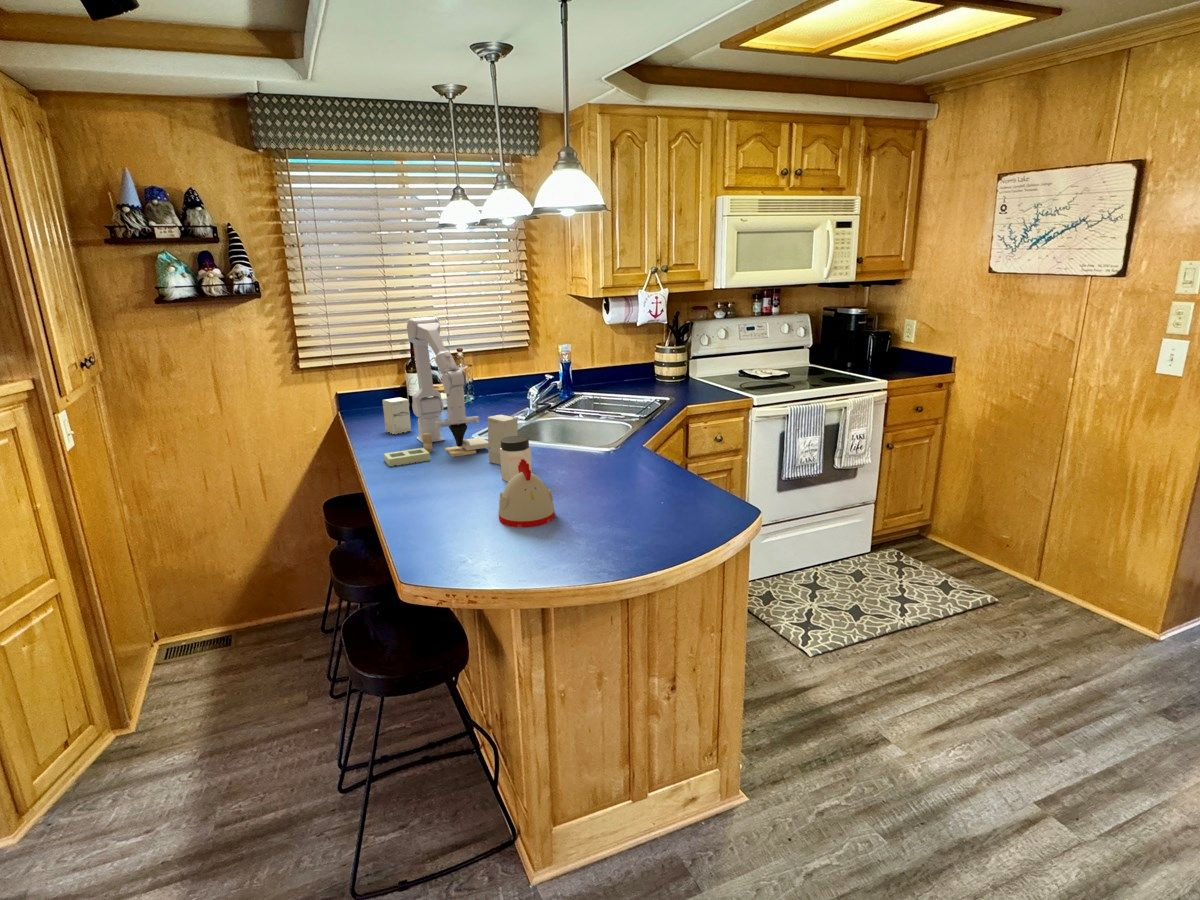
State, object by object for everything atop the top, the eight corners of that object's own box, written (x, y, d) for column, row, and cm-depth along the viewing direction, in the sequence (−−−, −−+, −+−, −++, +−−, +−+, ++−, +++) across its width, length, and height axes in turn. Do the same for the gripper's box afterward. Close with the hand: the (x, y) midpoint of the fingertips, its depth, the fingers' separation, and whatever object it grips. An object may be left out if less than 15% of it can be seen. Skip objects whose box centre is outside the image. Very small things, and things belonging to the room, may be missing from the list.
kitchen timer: (507, 531, 166) (503, 471, 162) (492, 513, 178) (488, 457, 174) (562, 521, 171) (560, 463, 167) (544, 504, 183) (541, 449, 179)
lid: (458, 444, 239) (458, 437, 238) (481, 441, 243) (480, 433, 242) (467, 450, 231) (466, 442, 231) (490, 447, 235) (489, 439, 234)
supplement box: (393, 435, 261) (390, 402, 257) (385, 431, 266) (381, 399, 263) (412, 431, 265) (408, 399, 262) (403, 428, 271) (399, 396, 267)
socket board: (384, 460, 227) (383, 453, 227) (423, 454, 233) (423, 447, 233) (389, 466, 221) (389, 459, 220) (430, 460, 227) (429, 453, 226)
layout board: (445, 450, 237) (444, 447, 237) (467, 447, 241) (467, 444, 241) (453, 456, 230) (452, 453, 229) (476, 453, 233) (476, 449, 233)
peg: (422, 450, 238) (421, 433, 236) (431, 449, 239) (429, 432, 238) (425, 452, 236) (423, 435, 234) (433, 451, 237) (432, 434, 235)
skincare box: (488, 462, 222) (485, 417, 218) (502, 458, 227) (499, 413, 223) (506, 466, 217) (503, 420, 213) (520, 462, 222) (517, 416, 218)
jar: (512, 472, 211) (509, 434, 208) (536, 475, 208) (534, 436, 205) (497, 481, 203) (494, 442, 200) (522, 484, 200) (519, 444, 197)
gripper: (438, 411, 224) (441, 451, 228) (481, 405, 231) (483, 445, 234) (432, 407, 230) (435, 447, 234) (474, 402, 237) (477, 440, 240)
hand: (459, 445), depth 234 cm, fingers closed
